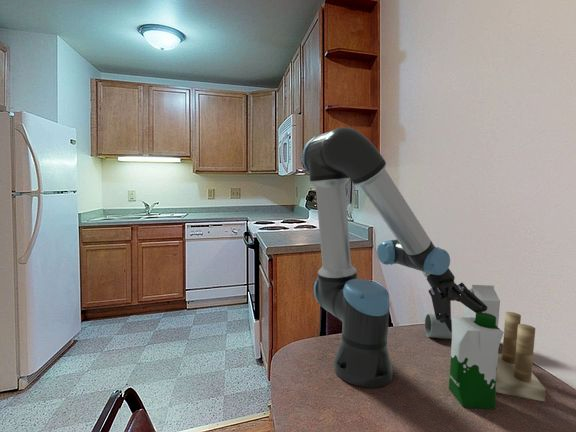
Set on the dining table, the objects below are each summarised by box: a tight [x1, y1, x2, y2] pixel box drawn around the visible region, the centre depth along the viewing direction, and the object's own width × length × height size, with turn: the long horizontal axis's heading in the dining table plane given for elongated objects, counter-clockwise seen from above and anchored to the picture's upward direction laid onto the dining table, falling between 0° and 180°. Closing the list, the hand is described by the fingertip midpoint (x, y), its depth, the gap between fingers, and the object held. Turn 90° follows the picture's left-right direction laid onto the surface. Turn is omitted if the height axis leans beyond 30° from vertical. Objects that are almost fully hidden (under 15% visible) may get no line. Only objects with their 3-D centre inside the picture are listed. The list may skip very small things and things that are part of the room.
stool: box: [496, 311, 547, 402], centre depth 83 cm, size 16×16×16 cm
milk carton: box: [463, 284, 501, 328], centre depth 104 cm, size 7×7×19 cm
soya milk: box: [448, 312, 504, 410], centre depth 74 cm, size 9×9×20 cm
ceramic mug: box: [424, 313, 452, 340], centre depth 109 cm, size 11×8×8 cm
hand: (479, 338), depth 88 cm, fingers open, 13 cm apart
